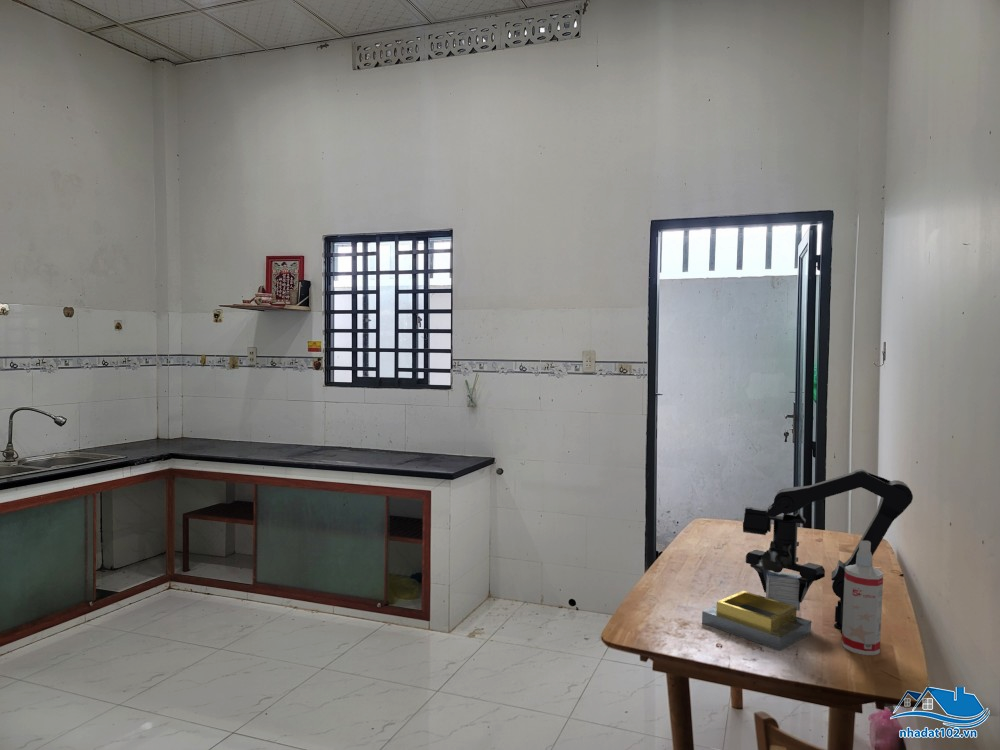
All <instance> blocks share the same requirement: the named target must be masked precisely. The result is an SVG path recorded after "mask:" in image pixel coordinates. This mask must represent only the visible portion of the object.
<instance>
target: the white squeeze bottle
mask: <svg viewBox="0 0 1000 750" xmlns="http://www.w3.org/2000/svg"><path fill="white" fill-rule="evenodd" d="M860 540H861V539H860ZM860 540H859V541H858V543H859V550H858V552H857V557H856V564H855V565H849V566H846V567H845V577H844V600H843V624H842V629H841V630H842V631H841V632H842V633H841V645H842V647H843V648H844V649H845V650H848V651H850V652H852V653H855V654H860V655H863V656H877V655H878V654H880V653H881V635H882V633H881V632H882V613H883V609H882V608H883V592H884V591H883V589H884V587H883V586H884V572H882V571H881V570H880V569H878V568H875V567H874V566H873V556H872V554H871V552H870V549H871V542H870V541H860Z"/></svg>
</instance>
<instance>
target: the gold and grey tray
mask: <svg viewBox="0 0 1000 750" xmlns="http://www.w3.org/2000/svg"><path fill="white" fill-rule="evenodd" d="M701 613H702V615H701V624H703V625H707V626H709V627H711V628H715V629H717V630H720V631H724V632H726V633H729V634H731V635H734V636H737V637H740V638H742V639H746V640H748V641H751V642H754V643H757V644H759V645H762V646H765V647H768V648H770V649H774V650H776V651H779V652H781V651H782V650H784V649H786V648H787V647H789V646H791V645H792V644H795V643H796V642H798V641H800V640H801V639H803V638H805V637H807V636H808V635H811V633H812V621H811V620H809V619H806V618H802V617H799V616H797V607H796V606H793V605H789V604H786V603H783V602H779V601H776V600H773V599H769V598H766V596H762V595H760V594H757V593H753V592H750V591H746V590H742V591H739V592H736V593H735V594H731V595H729V596H727V597H725V598H722V599H719V600H718V601H716V605H714V606H711V607H709V608H707V609H704V610H702V611H701Z"/></svg>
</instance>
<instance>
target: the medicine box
mask: <svg viewBox="0 0 1000 750" xmlns="http://www.w3.org/2000/svg"><path fill="white" fill-rule="evenodd" d="M800 577H801V575H800V573H799V572H789V571H781V572H779V573H776V572H774V571H771V570H770V571H769V570H768V571H767V579H766V593H765V597H766V598H769V599H773V600H776V601H779V602H783V603H786V604H789V605H793V606H796V607H797V611H798V612H799V611H801V603H799V598H798V597H799V586H800V582H799V580H798V578H800Z"/></svg>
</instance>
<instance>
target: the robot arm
mask: <svg viewBox="0 0 1000 750" xmlns="http://www.w3.org/2000/svg"><path fill="white" fill-rule="evenodd" d="M859 488H861V489H865V490H867V491H869V492H870V493H872V494H874V495H876V496H878V497H880V498H879V503H878V507H877V509H876V512H875V513H874V516H873V517H872V519H871V521H870V523H869V525H868V526H867V528H866V530H865V532H864V533H863V535H862V536H861V538H860V541H870V542H871V549H870V552H871V554H872V557H873V556H874V554H875V552H877V549H878V547H879V545H880V544H881V542H882V541H883V539H884V537H885V536H886V534H887V532H888V531H889V529H890V527H891V525H892V524H893V522H894V521H895V520H896V519H897V518H898V517H899V516H900V515H902V514H903V513H904V511H905V510H906V509H907V508H909V506H910V505H911V504H912V501H913V499H914V496H913V493H912V490H911V489H910V487H909V485H908V484H906V483H905V482H904V481H901V480H899V479H898V480H889V479H887V478H884V477H882V476H879V475H876V474H874V473H870V472H868V471H867V470H864V469H862V468H861V469H856V470H854V471H852V472H849V473H847V474H843V475H839V476H836V477H833V478H829V479H827V480H823V481H820V482H817V483H814V484H811V485H804V486H801V485H800V486H791V487H784V488H781V489H779V490H778V491H777V492H776V495H775V497H774V499H773V503H772V504H771V505H768V507H767V509H764V508H755V507H751V506H746V507H745V508H744V516H743V521H742V532H743V533H746V534H752V535H753V534H754V535H761V536H766V535H767V534H768V533H772V532H771V530H772V521H773V534H772V535H773V536H772V540H771V541H770V543H769V547H768V549H766V550H765V551H764V550H759V549H754V550H752V551H748V552H747V553H746V555H745V563H746V564H749V566H750V567H751V568H752V569H753V570H754V571H756V573H757V574H758V577H759V579H760V583H761V586H762V589H763V592H764V593H765V594H766V579H767V571H768V570H769V571H774V572H776V573H779V572H783V570H784V569H786V570H791V571H794V572H796V573H799V576H800V578H798V580H799V582H800V586H799V597H798V598H799V603H800V604H801V603H803V601H804V599H805V597H806V595H807V593H808V590H809V589H810V586H811V585H812V584H813V583H814V582H815V581H816V582H817V581H819V580H821V579H823V578H825V577H826V570H825V568H824V566H823V565H820V564H818V563H817V564H816V563H814V562H807V563H804V564H800V563H799V557H798V556H797V550H798V548H797V547H799V545H800V541H798V524H803V525H804V524H806V521H807V520H806V519H807V518H805V517H804V516H803V515H802V513H801V512H800V511H799V510H801V509H803V508H804V507H806V506H808V505H810V504H811V503H813V502H816V501H819V500H823V499H826V498H829V497H833V496H836V495H839V494H842V493H845V492H849V491H853V490H856V489H859ZM797 511H799V512H797ZM795 512H797V513H796V514H792V513H795ZM782 514H783V515H782ZM779 515H780V516H779ZM858 550H859V542H858V543H857V545H856V547H855V548H854V550H853V552H852V554H851V556H849V558H848V559H847V560H846V561H845V562H843V561H842V560H840V559H839V560H838V562H837V565H836V567H835V569H833V570H832V571H831V578H830V579H831V581H832V584H831V586H832V587H831V588H832V591H833V593H834V595H836V596H837V597H838V598H839V600H837V605H835V607H834V608H835V611H834V622H835V623H833V627H834V628H838V629H841V630H842V624H843V600H844V577H845V567H846V566H849V565H855V564H856V557H857V552H858ZM797 562H798V563H797Z"/></svg>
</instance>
